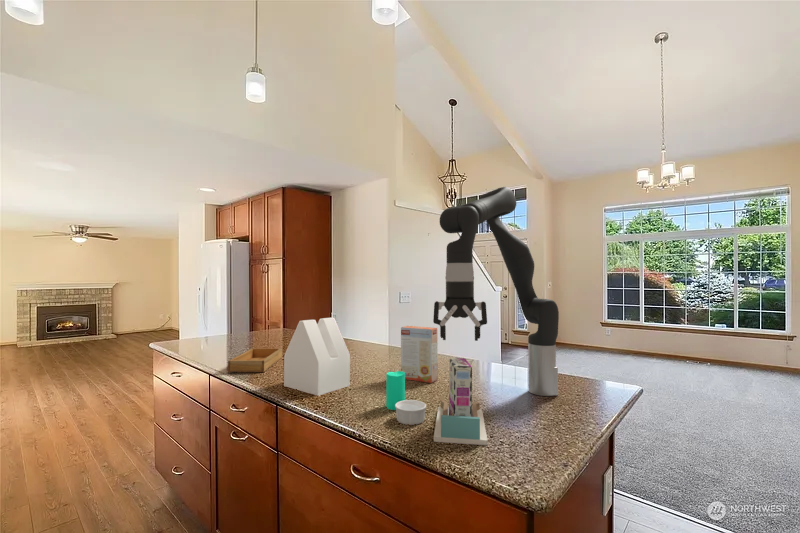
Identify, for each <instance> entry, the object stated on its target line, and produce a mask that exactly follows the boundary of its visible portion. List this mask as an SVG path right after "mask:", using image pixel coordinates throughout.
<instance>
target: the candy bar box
mask: <svg viewBox="0 0 800 533" xmlns="http://www.w3.org/2000/svg"><path fill="white" fill-rule="evenodd" d="M448 360H449V361H448V362H449V371H448V372H449V373H448V375H449V376H448V378H449V379H448V407H449V415H450V416H467V417H472V404H473V403H472V402H473V401H472V400H473V397H472V396H473V366H472V365H471V364H470V363H469V361H468V360H467V359H466V358H464V357H463V358H462V357H459V358H458V357H454V358H453V357H452V358H450V357H449V359H448Z"/></svg>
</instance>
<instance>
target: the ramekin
mask: <svg viewBox="0 0 800 533" xmlns="http://www.w3.org/2000/svg"><path fill="white" fill-rule="evenodd" d="M395 408H396V410H395V412H396V421H397V422H399V423H400V424H402V425H407V424H409V425H408V426H411V425H414V424H416V425H420V424H421V423H423V422H424V421H425V419H426V418H425V417H426V409H427V404H426V403H425V402H423V401H421V400H416V399H405V400H403V401H400V402H397V403H396V404H395ZM414 426H415V425H414Z"/></svg>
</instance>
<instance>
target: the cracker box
mask: <svg viewBox="0 0 800 533" xmlns="http://www.w3.org/2000/svg"><path fill="white" fill-rule="evenodd" d="M438 344H439V343H438V327H427V326H426V327H425V326H415V325H414V326H413V325H405V326H401V327H400V371H403V372H405V380H410V381H415V382H422V383H426V384H427V383H428V384H432V383H435V382H436V381H438V374H439V372H438V371H439V370H438V365H439V363H438V359H439V358H438V350H439V349H438Z"/></svg>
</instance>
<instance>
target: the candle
mask: <svg viewBox="0 0 800 533" xmlns="http://www.w3.org/2000/svg"><path fill="white" fill-rule="evenodd" d="M385 375H386V378H385V380H386V381H385V382H386V384H385V386H386V391H385V396H386V400H385V405H386V406H385V408H386V407H387V408H386V409H388V410H391V411H396V408H395V404H396V403H397V402H400V401H403V400H406V379H405V372H403V371H401V370H398V371H397V370H396V371H389V372H387V373H386V374H385Z"/></svg>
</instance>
